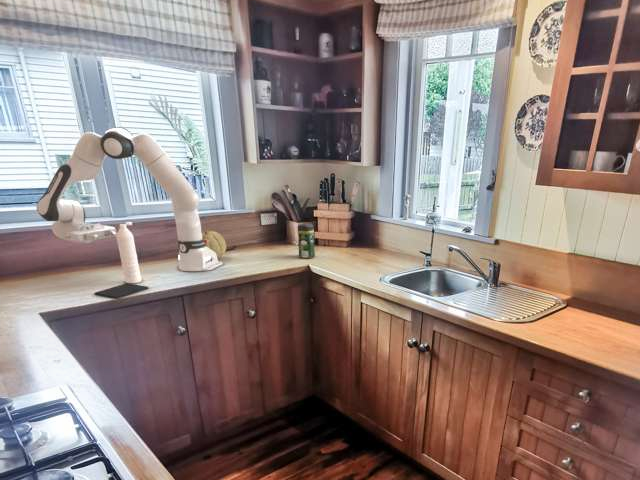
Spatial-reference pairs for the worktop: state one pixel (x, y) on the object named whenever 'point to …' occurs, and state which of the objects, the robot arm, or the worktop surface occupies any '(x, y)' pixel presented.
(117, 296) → the mat
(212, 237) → the ribbed yellow melon
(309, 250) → the pickle jar
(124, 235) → the water bottle
